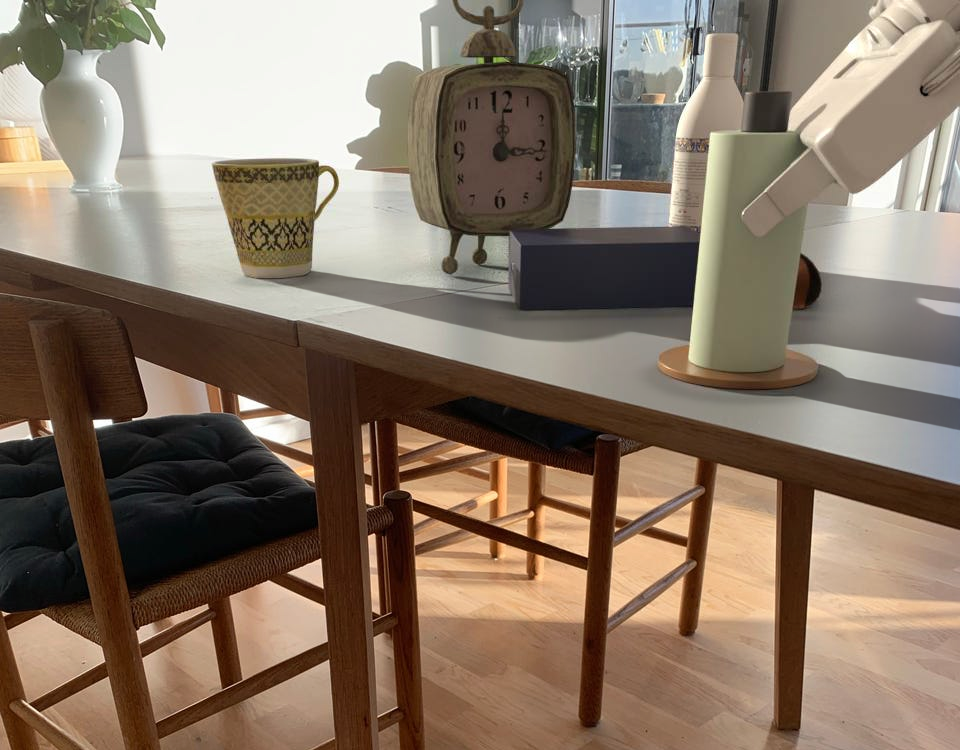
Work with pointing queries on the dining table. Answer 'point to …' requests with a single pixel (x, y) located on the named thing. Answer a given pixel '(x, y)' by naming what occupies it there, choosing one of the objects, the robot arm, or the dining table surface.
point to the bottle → (746, 245)
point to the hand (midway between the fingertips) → (743, 219)
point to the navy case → (603, 267)
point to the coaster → (790, 374)
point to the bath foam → (704, 129)
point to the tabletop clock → (490, 141)
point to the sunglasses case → (806, 284)
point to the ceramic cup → (272, 212)
